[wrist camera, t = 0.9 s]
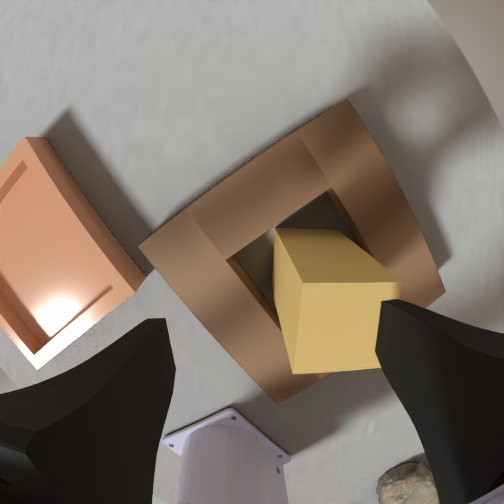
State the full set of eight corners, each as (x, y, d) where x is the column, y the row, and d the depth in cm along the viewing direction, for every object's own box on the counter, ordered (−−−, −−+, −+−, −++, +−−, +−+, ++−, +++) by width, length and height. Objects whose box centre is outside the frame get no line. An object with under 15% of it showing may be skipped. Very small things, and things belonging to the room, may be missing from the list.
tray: (145, 277, 20) (135, 292, 18) (50, 353, 22) (37, 369, 19) (45, 137, 17) (25, 136, 15) (-31, 240, 19) (-49, 249, 16)
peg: (337, 229, 20) (402, 282, 11) (330, 288, 21) (382, 367, 12) (274, 227, 20) (302, 282, 11) (271, 288, 21) (292, 374, 12)
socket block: (428, 278, 21) (445, 291, 19) (273, 382, 23) (276, 403, 21) (334, 105, 18) (347, 99, 15) (149, 235, 20) (137, 246, 17)
